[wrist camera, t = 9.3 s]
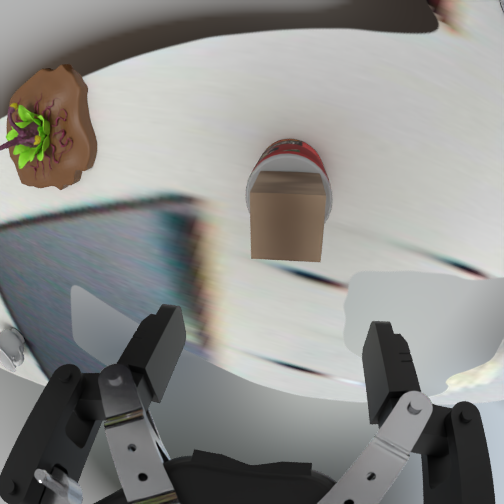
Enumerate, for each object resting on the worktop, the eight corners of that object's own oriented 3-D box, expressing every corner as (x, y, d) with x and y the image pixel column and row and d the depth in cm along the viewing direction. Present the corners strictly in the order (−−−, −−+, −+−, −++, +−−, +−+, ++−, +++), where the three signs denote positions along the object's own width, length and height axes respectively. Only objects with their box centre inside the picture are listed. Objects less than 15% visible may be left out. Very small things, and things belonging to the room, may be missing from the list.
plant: (9, 93, 33) (-39, 104, 24) (85, 50, 30) (30, 48, 20) (28, 195, 43) (-14, 221, 33) (106, 178, 39) (57, 206, 30)
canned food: (296, 125, 33) (296, 136, 23) (336, 178, 35) (350, 211, 25) (245, 163, 36) (225, 189, 26) (286, 212, 38) (281, 255, 29)
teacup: (44, 357, 69) (27, 380, 60) (15, 344, 70) (-1, 364, 62) (27, 327, 63) (8, 351, 54) (-1, 315, 64) (-19, 336, 56)
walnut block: (319, 173, 24) (326, 195, 19) (316, 227, 27) (320, 262, 21) (260, 170, 25) (249, 192, 20) (260, 225, 27) (251, 258, 22)
